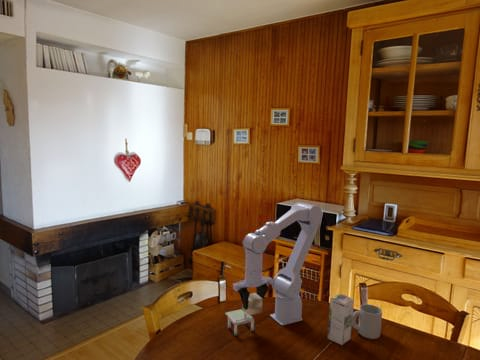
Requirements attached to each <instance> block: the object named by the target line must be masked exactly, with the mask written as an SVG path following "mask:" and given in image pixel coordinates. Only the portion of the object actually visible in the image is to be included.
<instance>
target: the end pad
mask: <svg viewBox="0 0 480 360" xmlns="http://www.w3.org/2000/svg"><path fill="white" fill-rule="evenodd" d="M244 312H245V311H244V310H243V309H242V308H240V309H237V310H231V311H227V312H225V313H224V314H225V315H226V317H228V315H230V316H231V317H232V318H233V319H234V320H235V321H236V322H237V321H241V320H244ZM247 319H249V318H248V317H247Z"/></svg>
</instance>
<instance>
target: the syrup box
mask: <svg viewBox="0 0 480 360" xmlns="http://www.w3.org/2000/svg"><path fill="white" fill-rule="evenodd" d="M354 303H355V299H354V298H352V297H350V296H348V295H345V294H342V293H337V294H336V295H334V296H332V297H331V298H330V300H329V309H328V310H329V313H328V321H327V323H328V324H327V337H326V338H327V339H328V340H330V341H332V342H334V343H337V344H338V345H341V346H344V345H345V344H346V343H347V342H349V341H350V340H351V339H352V337H351V336H352V328H353V326H352V318H353V313H354Z"/></svg>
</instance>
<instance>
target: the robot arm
mask: <svg viewBox="0 0 480 360" xmlns="http://www.w3.org/2000/svg"><path fill="white" fill-rule="evenodd" d="M322 219H323V212H322V209H321V207H320V206H319V205H316V204H315V205H314V204H310V203H305V202H302V201H297V202H296V203H295V204H292V205H291V208H290V210H288V211H287V212H286V213H284V214H283V215H281V216H280V217H279V218H278V219H277V220H276V221H266V223H265V224H264V225H263V226H262V227H260V228H259V229H256V230H255V231H254V232H250V233H248V234H246V235H245V236H244V238H243V240H242V247H243V248H244V253H245V263H244V264H245V266H244V267H245V269H244V272H245V274H244V279H243V280H240V281H238V282H235V283H232V290H234V291H235V292H238V294H239V297H240V299H241V304H243V308H244V309H245V310H247V309H248V299H249V295H250V294H251V292H250V291H249V288H255V289H256V294H257V295H259V296H260V297H261V298H262V303H263V302H264V299H265V297H266V295H267V293H268V292H269V290H270V286H268V285H271V287H272V290H274V294H275V303H274V304H275V305H274V307H275V308H274V313H271V314H269V316H270V318H272V319H273V320H274V321H275V322H277V323H278V324H279V325H281V326H286V325H290V324H294V323H296V322H300V321H303V317H302V309H303V301H302V298H301V296H300V294H301V286H302V284H303V280H302V277H301V276H300V273H301V270H302V268H303V265H304V264H305V261H306V258H307V256H308V254H309V251H310V249H311V247H312V244H313V243H314V240H315V237H316V234H317V232H318V228H319V226H320V223H321V220H322ZM295 222H297V223H298V225H300V229H301V230H300V232H299V234H298V236H297V240H296V242H295V243H294V247H293V249H292V251H291V254H290V256H289V258H288V261H287V262H286V265H285V267H283V268H281V269H278V272H277V274H276V275H275V276H274V277H273V278H272V277H270V276H268V277H267V276H264V277H263V275H262V274H263V257H264V256H263V253H264V252H265V251H266V249H267V247H268V246H269V243H271V242H273V240H276V239H277V238H278V237H279V236H281V231H282V230H283V229H286V228H287V227H288V226H290V225H292V224H293V223H295Z"/></svg>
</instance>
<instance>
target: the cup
mask: <svg viewBox="0 0 480 360" xmlns="http://www.w3.org/2000/svg"><path fill="white" fill-rule="evenodd" d="M357 317H358V324H357V321H356V320H357ZM382 317H383V310H382V308H380V307H379V306H378V305H373V304H367V303H365V304H361V305H360V306H359V310H355V311H353V318H352V328H353V329H356V330H358V333H359V334H360V335H361V336H362V337H363V338H366V339H371V340H375V339H379V338H380V337H381V331H382V330H381V329H382V321H383V320H382V319H383V318H382Z"/></svg>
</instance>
